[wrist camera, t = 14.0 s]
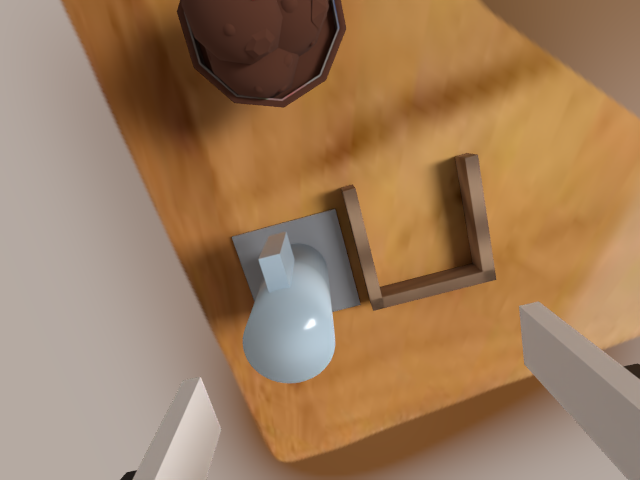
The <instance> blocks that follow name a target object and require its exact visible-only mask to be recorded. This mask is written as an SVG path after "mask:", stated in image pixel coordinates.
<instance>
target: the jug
mask: <svg viewBox="0 0 640 480" xmlns="http://www.w3.org/2000/svg"><path fill="white" fill-rule="evenodd" d="M258 260H259V263H260V266H261V269H262V272H263V275H264V278H263V281H262V283H261V286H260V289H259V292H258V294H257V297H256V300H255V303H254V306H253V308H252V311H251V314H250V317H249V320H248V322H247V325H246V328H245V331H244V335H243V349H244V352H245V355H246V358H247V360H248V361H249V363H250V364H251V366H252V367H253V368H254V369H255V370H256V371H257V372H258V373H260V374H261V375H263V376H264V377H266V378H268V379H271V380H273V381H277V382H282V383H297V382H302V381H306V380H308V379H311V378H313V377H315V376H316V375H318V374H319V373H320V372H322V371H323V370H324V369H325V368H326V366H327V365H328V364H329V362H330V360H331V359H332V356H333V353H334V349H335V335H334V325H333V315H332V306H331V296H330V286H329V277H328V268H327V264H326V261H325V259H324V257H323V256H322V255H321V253H320V252H319V251H317V250H316V249H315V248H313V247H311V246H309V245H306V244H299V243H296V244H290V242H289V239H288V236H287V232H283V233H279V234H275V235H271V236H269V237H268V239H267V241H266V243H265V246H264V248H263V250H262V252H261V254H260V256H259V259H258Z"/></svg>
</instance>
